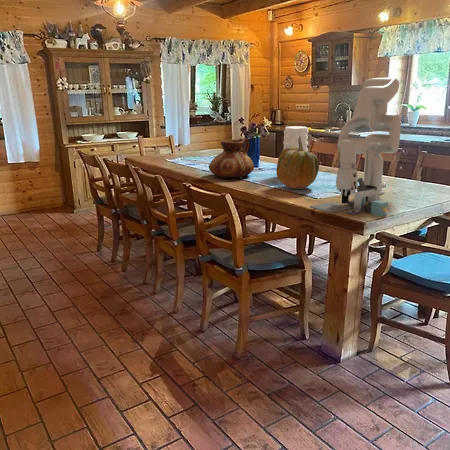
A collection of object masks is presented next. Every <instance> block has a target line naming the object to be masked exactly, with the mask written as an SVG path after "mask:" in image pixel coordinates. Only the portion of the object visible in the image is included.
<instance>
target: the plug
mask: <svg viewBox="0 0 450 450" xmlns="http://www.w3.org/2000/svg"><path fill="white" fill-rule="evenodd" d="M387 214H388V201H386V200H380V199H379V200H376V201H372V205H371V213H370V215H374V216H376V215H377V217H383V216H387Z"/></svg>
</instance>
